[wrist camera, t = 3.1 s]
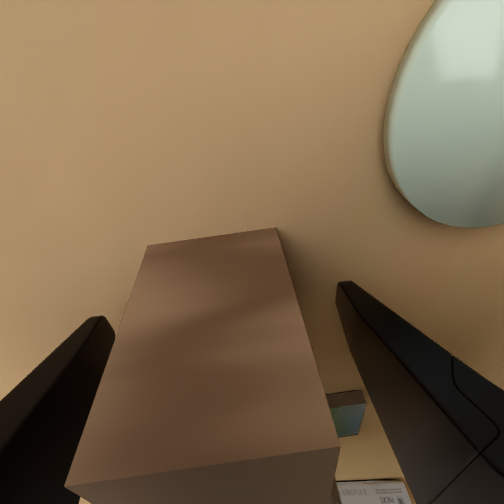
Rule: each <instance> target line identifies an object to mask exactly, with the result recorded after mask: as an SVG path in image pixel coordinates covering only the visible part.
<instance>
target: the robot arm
mask: <svg viewBox="0 0 504 504" xmlns="http://www.w3.org/2000/svg"><path fill="white" fill-rule="evenodd" d="M336 307H337V310H338V313H339V317H340V320H341V323H342V327H343V330H344V333H345V337H346V340H347V343H348V346H349V349H350V352H351V354H352V357H353V359H354V361H355V364H356V366H357V368H358V371H359V373H360V375H361V378H362V380H363V382H364V385H365V387H366V389H367V391H368V394H369V396H370V398H371V401H372V403H373V405H374V408H375V410H376V412H377V414H378V417H379V419H380V421H381V424H382V426H383V428H384V431H385V433H386V435H387V437H388V440H389V442H390V444H391V447H392V449H393V451H394V454H395V456H396V458H397V460H398V463H399V465H400V467H401V470H402V472H403V474H404V477H405V479H406V481H407V483H408V486H409V488H410V490H411V493H412V495H413V497H414V500H415V502H416V504H504V390H502V389H501V388H499V387H498V386H496V385H495V384H493V383H492V382H490V381H488V380H487V379H486V378H484V377H483V376H481V375H480V374H479V373H477V372H476V371H474V370H473V369H471V368H470V367H469V366H467V365H466V364H464V363H463V362H462V361H460V360H459V359H458V358H456V357H455V356H451V353H449V352H448V351H447V350H445V349H444V348H442V347H441V346H440V345H438V344H437V343H436V342H434V341H433V340H432V339H430V338H429V337H427V336H426V335H425V334H423V333H422V332H421V331H419V330H418V329H417V328H415V327H414V326H412V325H411V324H410V323H408V322H407V321H406V320H404V319H403V318H402V317H400V316H399V315H397V314H396V313H395V312H393V311H392V310H391V309H389V308H388V307H387V306H385V305H384V304H383V303H381V302H380V301H378V300H377V299H376V298H374V297H373V296H372V295H370V294H369V293H368V292H366V291H365V290H363V289H362V288H361V287H359V286H358V285H357V284H355V283H354V282H352V281H342V282H338V284H337V290H336ZM114 341H115V332H114V330H113V328H112V327H111V325H110V323H109V322H108V320H107V319H106V317H104V316H95V317H90V318H88V319H87V320H86V321H85V322H84V323H83V324H82V325H81V326H80V327H79V328H78V329H77V330H75V331H74V332H73V333H72V334H71V335H70V336H69V337H68V338H67V339H66V340H65V341H64V342H63V343H62V344H61V345H60V346H58V347H57V348H56V349H55V350H54V351H53V352H52V353H51V354H50V355H49V356H48V357H47V358H46V359H45V360H44V361H43V362H41V363H40V364H39V365H38V366H37V367H36V368H35V369H34V370H33V371H32V372H31V373H30V374H29V375H28V376H27V377H25V378H24V379H23V380H22V381H21V382H20V383H19V384H18V385H17V386H16V387H15V388H14V389H13V390H12V391H11V392H10V393H8V394H7V395H6V396H5V397H4V398H3V399H2V400H1V401H0V504H79V500H80V496H79V495H77V494H75V493H74V492H72V491H71V490H69V489H67V488H66V487H64V485H65V482H66V479H67V476H68V474H69V471H70V468H71V465H72V462H73V459H74V456H75V453H76V451H77V448H78V445H79V442H80V439H81V436H82V433H83V430H84V428H85V425H86V422H87V419H88V416H89V413H90V410H91V407H92V405H93V402H94V399H95V396H96V393H97V390H98V387H99V384H100V382H101V379H102V376H103V373H104V370H105V367H106V364H107V361H108V359H109V356H110V353H111V350H112V347H113V344H114Z"/></svg>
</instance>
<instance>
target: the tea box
mask: <svg viewBox="0 0 504 504" xmlns="http://www.w3.org/2000/svg"><path fill="white" fill-rule="evenodd" d="M336 483H337V487H338V491H339V494H340V498H341V502H342V504H412V503H411V500H410V498H409V495H408V493H407V490H406V488H405V485H404V483H403V482H402V481H357V482H336Z"/></svg>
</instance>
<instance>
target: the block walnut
mask: <svg viewBox="0 0 504 504" xmlns="http://www.w3.org/2000/svg"><path fill="white" fill-rule="evenodd" d="M339 451H340V443H339V440H338V436H337V433H336V429H335V426H334V423H333V419H332V416H331V412H330V409H329V406H328V402H327V399H326V396H325V392H324V389H323V385H322V382H321V379H320V375H319V372H318V368H317V365H316V362H315V358H314V355H313V352H312V348H311V345H310V341H309V338H308V335H307V331H306V328H305V324H304V321H303V318H302V314H301V311H300V308H299V304H298V301H297V297H296V294H295V291H294V287H293V284H292V280H291V277H290V274H289V270H288V267H287V263H286V260H285V257H284V253H283V250H282V247H281V243H280V240H279V236H278V233H277V230H276V228H269V229H262V230H255V231H248V232H241V233H234V234H226V235H219V236H212V237H205V238H198V239H191V240H184V241H177V242H170V243H162V244H155V245H148V246H147V249H146V252H145V255H144V258H143V261H142V264H141V267H140V269H139V272H138V275H137V278H136V281H135V284H134V287H133V290H132V292H131V295H130V298H129V301H128V304H127V307H126V310H125V313H124V315H123V318H122V321H121V324H120V327H119V330H118V333H117V336H116V338H115V341H114V344H113V347H112V350H111V353H110V356H109V359H108V361H107V364H106V367H105V370H104V373H103V376H102V379H101V382H100V384H99V387H98V390H97V393H96V396H95V399H94V402H93V405H92V407H91V410H90V413H89V416H88V419H87V422H86V425H85V428H84V430H83V433H82V436H81V439H80V442H79V445H78V448H77V451H76V453H75V456H74V459H73V462H72V465H71V468H70V471H69V474H68V476H67V479H66V482H65V485H64V487H66V488H67V489H69V490H71V491H72V492H74V493H75V494H77V495H79V496H80V497H82V498H84V499H85V500H87V501H89V502H90V503H92V504H329V502H330V497H331V492H332V487H333V482H334V476H335V471H336V466H337V461H338V456H339Z"/></svg>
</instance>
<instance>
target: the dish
mask: <svg viewBox="0 0 504 504" xmlns="http://www.w3.org/2000/svg"><path fill="white" fill-rule="evenodd" d="M383 147H384V155H385V161H386V166H387V169H388V172H389V174H390V177H391V179H392V181H393V183H394V185H395V186H396V188H397V190H398V191H399V192H400V193H401V194H402V196H403V197H404V198H405V199H406V200H407V201H408V202H410V203H411V204H412V205H413V206H414V207H415V208H417V209H418V210H419V211H420V212H421V213H423V214H424V215H425V216H427V217H429V218H431V219H432V220H434V221H436V222H439V223H442V224H445V225H449V226H455V227H464V228H477V227H488V226H493V225H499V224H504V0H435V2H434V3H433V5H432V6H431V8H430V9H429V11H428V12H427V14H426V15H425V17H424V18H423V20H422V21H421V23H420V25H419V26H418V28H417V30H416V32H415V34H414V35H413V37H412V39H411V41H410V43H409V45H408V46H407V49H406V51H405V53H404V55H403V58H402V60H401V62H400V65H399V67H398V69H397V72H396V75H395V78H394V81H393V84H392V87H391V90H390V93H389V98H388V102H387V107H386V111H385V118H384V129H383Z"/></svg>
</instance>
